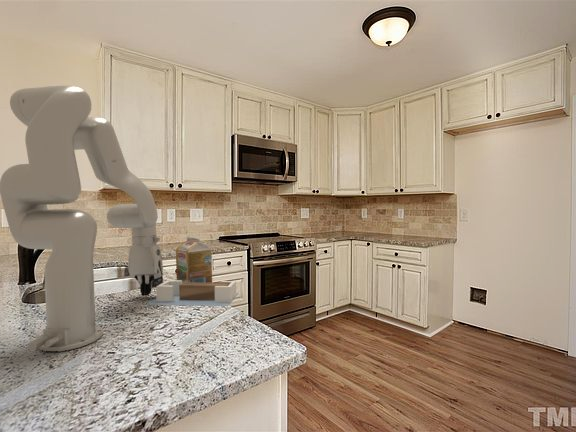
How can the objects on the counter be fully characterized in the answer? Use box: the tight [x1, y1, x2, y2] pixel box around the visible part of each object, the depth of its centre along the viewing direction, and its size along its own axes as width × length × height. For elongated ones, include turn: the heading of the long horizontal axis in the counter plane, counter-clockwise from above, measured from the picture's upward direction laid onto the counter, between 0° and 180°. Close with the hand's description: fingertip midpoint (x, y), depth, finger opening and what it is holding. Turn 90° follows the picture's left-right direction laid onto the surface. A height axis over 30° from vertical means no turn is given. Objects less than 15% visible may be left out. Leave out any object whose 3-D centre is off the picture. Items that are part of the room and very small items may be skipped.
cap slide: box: [155, 279, 182, 302], centre depth 102 cm, size 8×5×5 cm, turn 176°
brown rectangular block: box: [179, 282, 230, 300], centre depth 101 cm, size 4×16×5 cm, turn 86°
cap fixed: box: [215, 280, 237, 303], centre depth 100 cm, size 7×5×5 cm
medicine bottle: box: [135, 269, 164, 289], centre depth 119 cm, size 7×7×12 cm
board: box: [144, 292, 239, 307], centre depth 101 cm, size 14×27×1 cm, turn 86°
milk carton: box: [175, 236, 213, 283], centre depth 125 cm, size 11×11×19 cm
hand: (146, 294), depth 102 cm, fingers closed
